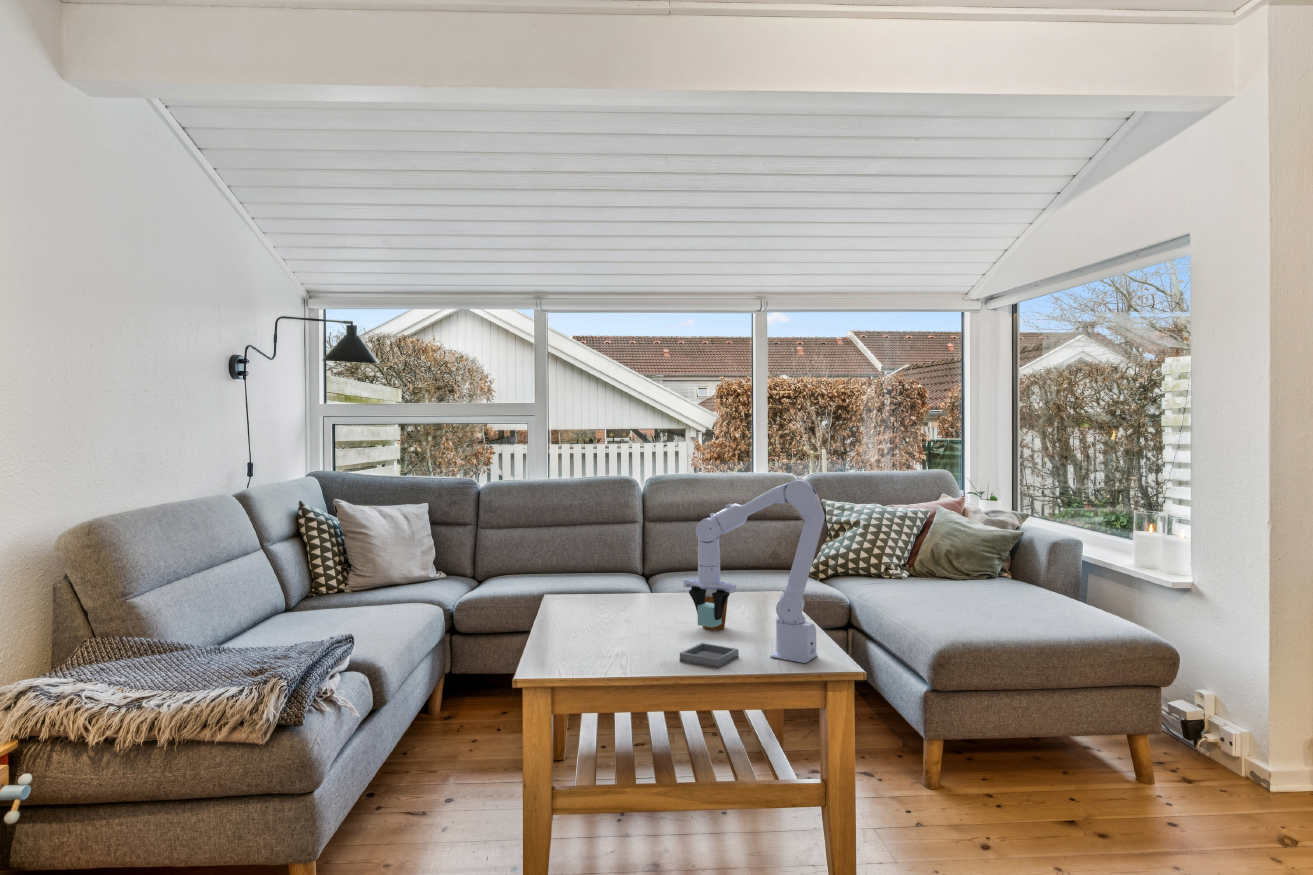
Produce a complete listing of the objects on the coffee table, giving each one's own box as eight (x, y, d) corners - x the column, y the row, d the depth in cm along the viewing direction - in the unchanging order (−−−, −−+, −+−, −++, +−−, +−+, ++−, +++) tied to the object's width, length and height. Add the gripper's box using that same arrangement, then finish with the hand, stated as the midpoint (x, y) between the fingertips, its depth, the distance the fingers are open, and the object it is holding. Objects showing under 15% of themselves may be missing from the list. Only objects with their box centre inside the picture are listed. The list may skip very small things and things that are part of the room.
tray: (738, 657, 178) (738, 648, 178) (717, 668, 170) (717, 659, 170) (701, 650, 184) (701, 642, 184) (679, 661, 176) (679, 652, 176)
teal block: (721, 623, 185) (721, 604, 185) (712, 627, 181) (712, 607, 181) (706, 621, 188) (706, 602, 188) (697, 624, 184) (697, 605, 184)
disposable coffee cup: (728, 632, 202) (728, 589, 202) (694, 631, 203) (694, 588, 204) (731, 624, 211) (731, 583, 211) (699, 622, 213) (699, 582, 213)
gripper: (676, 564, 185) (677, 617, 185) (726, 569, 177) (726, 624, 177) (691, 560, 191) (691, 611, 191) (739, 565, 183) (740, 618, 183)
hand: (709, 617), depth 184 cm, fingers closed on teal block, 4 cm apart
